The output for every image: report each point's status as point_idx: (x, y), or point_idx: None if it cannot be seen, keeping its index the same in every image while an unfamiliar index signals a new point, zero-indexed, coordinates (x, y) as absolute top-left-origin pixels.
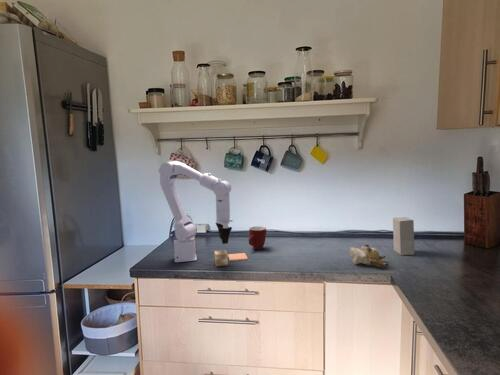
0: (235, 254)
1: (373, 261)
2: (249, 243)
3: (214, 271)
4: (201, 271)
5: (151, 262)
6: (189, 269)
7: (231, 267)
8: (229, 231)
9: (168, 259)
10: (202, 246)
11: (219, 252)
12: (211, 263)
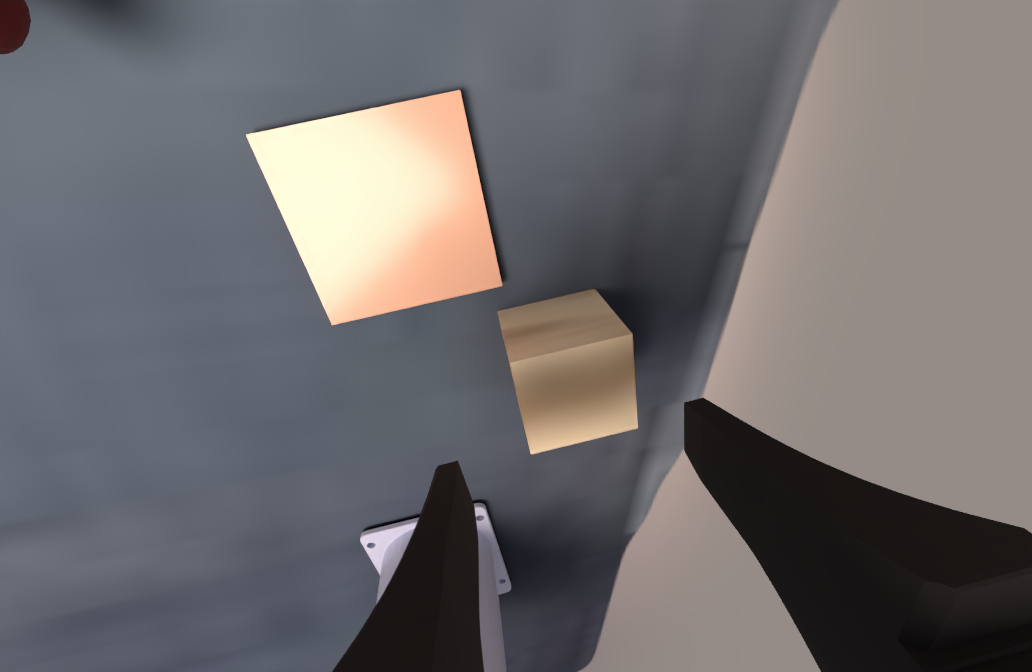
0: (326, 245)
1: None
2: (23, 42)
3: (708, 362)
4: None
5: None
6: (635, 496)
7: (657, 253)
8: (940, 522)
9: None
10: (96, 545)
11: (579, 409)
12: None
